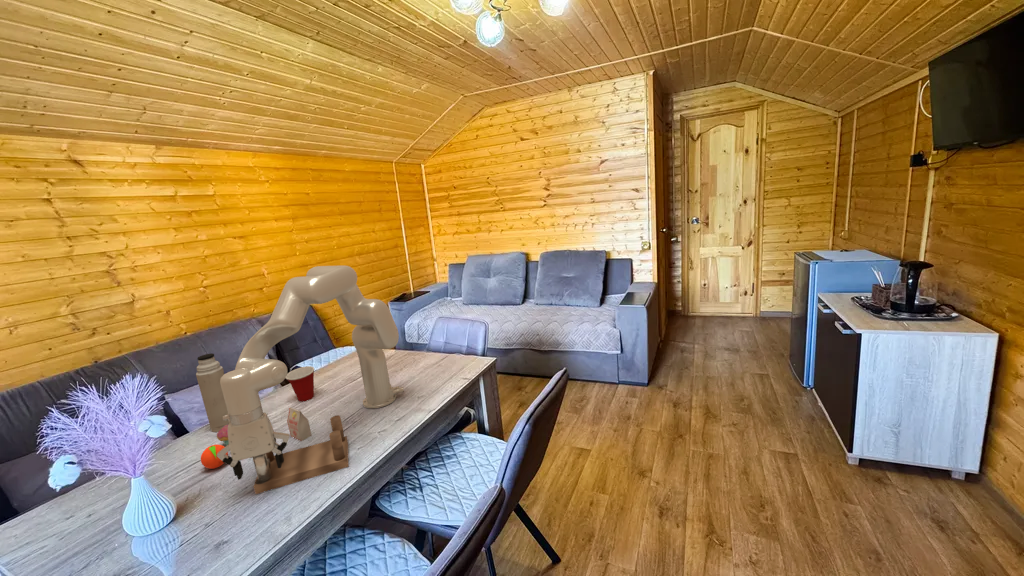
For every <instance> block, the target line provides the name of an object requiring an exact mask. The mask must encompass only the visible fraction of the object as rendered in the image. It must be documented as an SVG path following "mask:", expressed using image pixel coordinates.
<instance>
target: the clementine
mask: <svg viewBox="0 0 1024 576" xmlns="http://www.w3.org/2000/svg"><path fill="white" fill-rule="evenodd" d="M225 447H226V446H224V445H222V444H212V445H210V446H209V445H208V446H207V447H206V448H205V449H204V450H203V451H202V453H201V456H200V463H201V465H202V466H203V467H204V468H207V469H210V470H211V469H213V470H214V469H217V468H220V467H221V466H223V465H224V464H225V463H223V461H222V460H220V459H219V458H218V457H217V454H218V452H219V451H220V450H222V449H223V448H225ZM226 455H227V456H229V451H228V452H227V453H226Z"/></svg>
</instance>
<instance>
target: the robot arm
mask: <svg viewBox="0 0 1024 576" xmlns="http://www.w3.org/2000/svg"><path fill="white" fill-rule="evenodd" d="M357 281H358V275H357V272H356V270H355V269H354V268H352V267H351V266H350V265H320V266H319V265H317V266H314V267H312V268H310V269H308V270H307V272H306V276H295V277H291V278H290V279H289V280H287V281H286V283H285V285H284V287H283V289H282V290H281V294H280V296H279V298H278V301H277V303H276V304H275V307H274V309H273V311H272V314H271V316H270V318H269V319H268V321H267V322H266V323H265V324H264V325H263V326H262V327H261V328H259V329H258V331H257V332H255V333H254V335H253V336H252V337H250V338H249V340H248V341H247V342H246V344H245V345H244V346H243V349H242V351H241V353H240V355H239V357H238V358H237V359H238V360H237V362H236V364H235V367H234V368H235V369H234V370H231V371H228V372H226V373H224V375H223V376H222V377H221V379H220V384H221V388H222V392H223V395H224V399H225V403H226V407H227V411H228V414H227V415H225V416H223V420H224V421H226V420H227V421H228V420H229V422H230V423H229V425H228V440H229V445H226V446H224V447H225V448H223V449H222V450H220V451H219V452H218V454H217V457H218V458H219V459H220V460H222V461H223V463H224V464H225V465H229V467H230V468H232V470H233V474H234V476H236V477H237V480H241V479H242V478H243V475H244V469H243V466H242V465H243V464H242V462H241V461H243V460H247V459H251V458H252V457H255V456H259V455H262V454H266V453H269V452H271V451H272V452H273V454H274V456H275V458H276V462H277V467H278V468H281V466H282V463H284V458H283V453H284V452H283V451H284V450H285V448H286V447H287V445H288V443H289V439H290V437H291V436H290V433H286V432H279V431H274V427H273V424H272V422H271V420H270V418H269V417H268V415H267V414H268V413H266V412H264V411H263V406H262V402H261V398H260V393H259V392H261V391H264V390H267V389H271V388H274V387H277V386H278V385H279V384H281V383H283V381H284V380H285V379H286V376H287V374H288V367H287V365H286V364H285V363H284V362H283V361H281V360H278V359H273V358H271V359H270V358H266V357H267V355H268V354H269V352H270V351H271V349H272V348H273V347H274V346H275V345H277V344H278V343H279V342H281V341H282V340H285V339H287V338H289V337H291V336H293V335H295V334H296V333H298V332H299V331H300V329H301V328H302V325H303V322H304V321H305V318H306V315H307V312H308V311H309V308H310V305H321V304H326V303H329V302H330V301H333V300H336V302H337V303H338V305H339V308H340V310H341V311H342V313H343V315H344V317H345V319H346V321H347V322H348V323H349V324H351V325H353V326H355V327H354V328H353V329H352V332H351V340H352V343H353V346H354V348H355V351H356V353H357V356H358V362H359V368H360V372H361V378H362V384H363V388H364V393H365V394H364V395H365V398H364V399H363V400H362V405H363V407H364V408H366V409H378V408H383V407H386V406H389V405H391V404H392V403H394V402H395V401H396V399H397V394H400V393H404V391H405V390H404V387H403V386H402V387H400V385H398V386H392V385H391V381H390V376H389V369H388V364H387V358H386V355H385V352H384V350H389V349H392V348H395V347H396V345H398V342H399V339H400V335H399V329H398V327H397V324H396V322H395V319H394V318H393V315H392V313H391V310H390V308H389V307H388V305H387V304H386V303H385V302H384V301H382V300H381V299H378V298H365V297H364V295H363V294H362V292H361V290H360V288H359V285H358V284H357ZM278 439H279V440H282V442H281V443H277V440H278ZM229 451H230V455H228V456H227V455H226V453H227V452H228V453H229Z"/></svg>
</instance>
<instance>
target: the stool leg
mask: <svg viewBox="0 0 1024 576" xmlns="http://www.w3.org/2000/svg"><path fill="white" fill-rule="evenodd" d="M251 458H252V461H253V465H254V470H255V473H256V477H258V481H259V482H263V481H266V480H268V479H269V478H270V477H271V472H270V468H269V466H270V465H271V464H270V460H269V458H267V456H266V454H262V455H259V456H255V457H251Z"/></svg>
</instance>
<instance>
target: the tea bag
mask: <svg viewBox="0 0 1024 576" xmlns="http://www.w3.org/2000/svg"><path fill="white" fill-rule="evenodd" d="M286 423H287V425H288V431H289V435H290V436H289V437H291V438H293V437H294V438H293V439H295V438H296V439H295V440H297V439H298V440H297V441H299V440H300V442H303V441H304V440H306V439H309V438H310V437H312V431H311V427H310V421H309V419H308V418H307V417H306V416H305V415H304V414H303V412H302V411H301V410H298V409H296V408H294V407H289V408H288V415H287V420H286Z"/></svg>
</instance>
